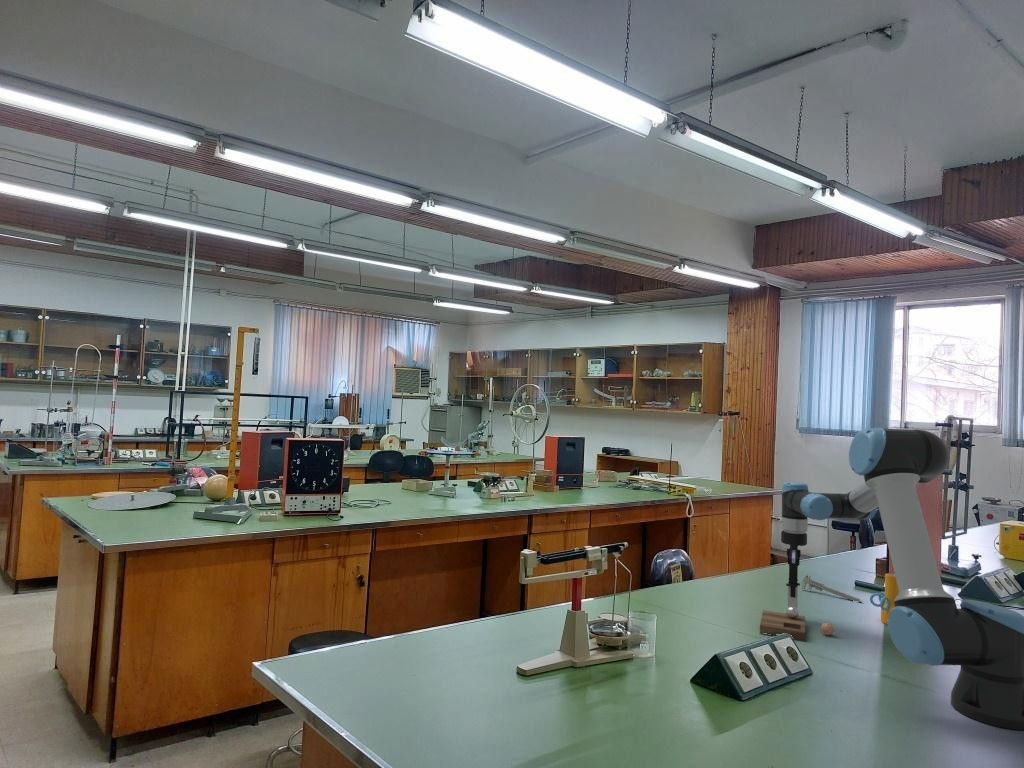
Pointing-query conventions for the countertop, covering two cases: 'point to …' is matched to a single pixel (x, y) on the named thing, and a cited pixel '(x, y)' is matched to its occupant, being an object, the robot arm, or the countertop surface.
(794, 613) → the steel ball
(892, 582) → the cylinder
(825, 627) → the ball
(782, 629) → the hole plate
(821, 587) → the caliper
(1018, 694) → the robot arm
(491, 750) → the countertop surface
